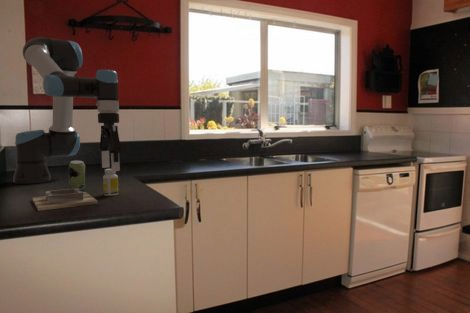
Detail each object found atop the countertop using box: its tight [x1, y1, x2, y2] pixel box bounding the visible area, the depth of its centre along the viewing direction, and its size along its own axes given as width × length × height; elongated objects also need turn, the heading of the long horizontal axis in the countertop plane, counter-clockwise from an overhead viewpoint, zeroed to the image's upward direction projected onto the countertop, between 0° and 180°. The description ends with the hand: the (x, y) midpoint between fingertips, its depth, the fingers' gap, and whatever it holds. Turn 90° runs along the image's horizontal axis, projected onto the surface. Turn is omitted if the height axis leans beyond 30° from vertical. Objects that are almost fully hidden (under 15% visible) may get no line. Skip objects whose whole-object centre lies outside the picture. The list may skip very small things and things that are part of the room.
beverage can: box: [68, 159, 86, 192], centre depth 150 cm, size 6×7×12 cm
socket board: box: [31, 188, 99, 212], centre depth 129 cm, size 18×18×4 cm
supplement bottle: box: [102, 168, 119, 197], centre depth 141 cm, size 5×5×10 cm
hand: (110, 169), depth 141 cm, fingers open, 13 cm apart
